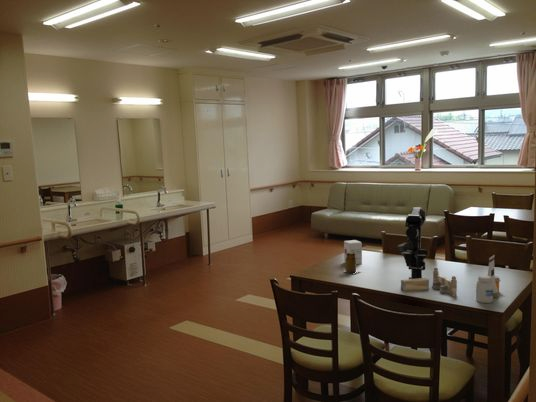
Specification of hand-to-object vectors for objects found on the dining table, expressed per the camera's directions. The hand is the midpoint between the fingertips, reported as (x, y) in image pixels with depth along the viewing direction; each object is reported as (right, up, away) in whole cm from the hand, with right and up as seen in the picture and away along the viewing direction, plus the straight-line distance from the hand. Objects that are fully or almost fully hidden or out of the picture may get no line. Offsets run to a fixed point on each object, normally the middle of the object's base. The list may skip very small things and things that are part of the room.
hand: (412, 267), depth 248 cm
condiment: (-25, -9, +40) cm, 48 cm away
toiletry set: (+34, -13, -13) cm, 39 cm away
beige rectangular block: (+2, -12, +3) cm, 13 cm away
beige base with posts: (+16, -12, -1) cm, 20 cm away
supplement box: (-21, -6, +62) cm, 66 cm away
